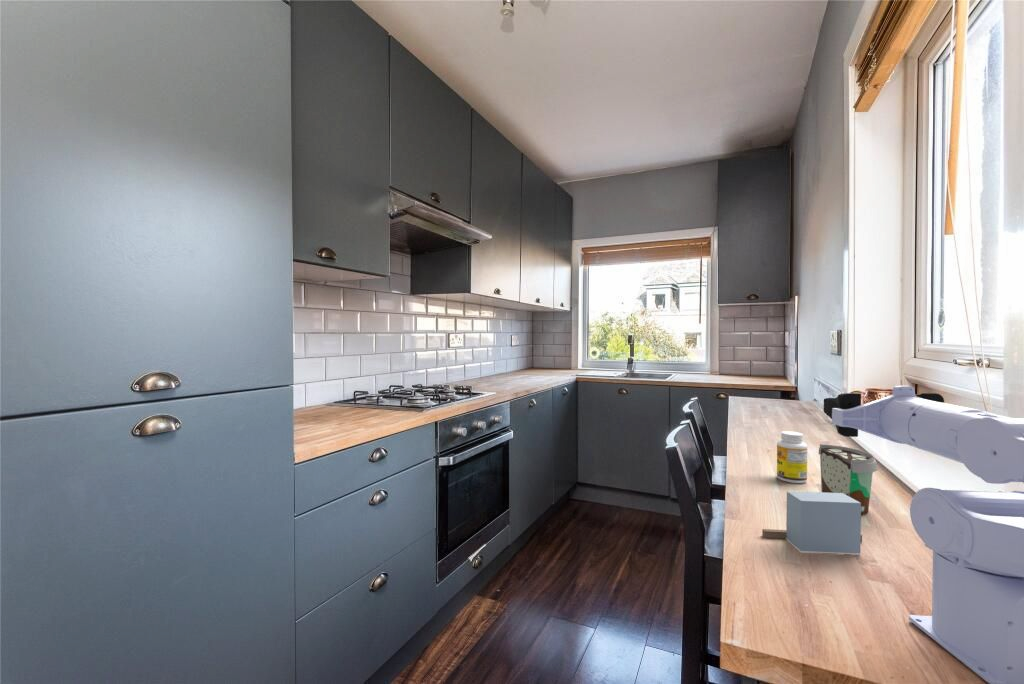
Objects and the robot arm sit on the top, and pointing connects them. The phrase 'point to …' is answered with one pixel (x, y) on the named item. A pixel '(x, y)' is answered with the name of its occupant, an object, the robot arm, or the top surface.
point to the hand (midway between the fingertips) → (855, 405)
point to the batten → (776, 533)
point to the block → (823, 522)
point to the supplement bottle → (792, 458)
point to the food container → (847, 473)
